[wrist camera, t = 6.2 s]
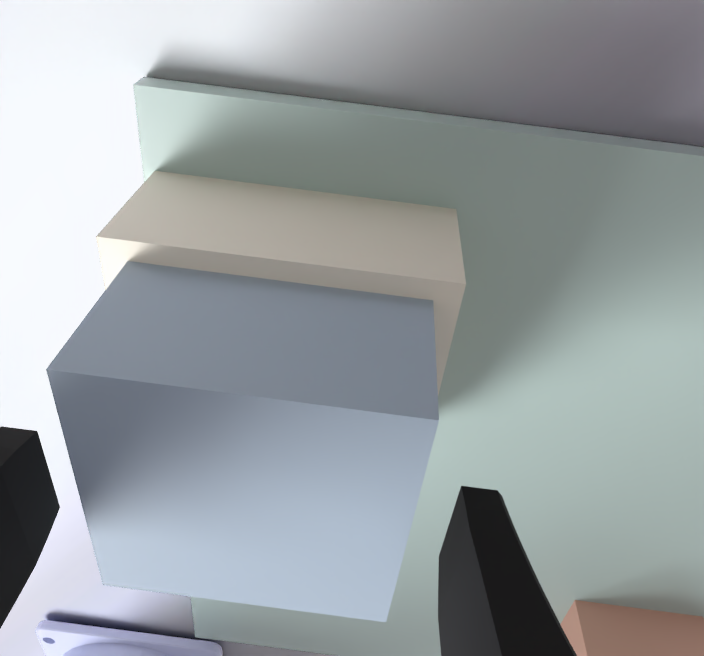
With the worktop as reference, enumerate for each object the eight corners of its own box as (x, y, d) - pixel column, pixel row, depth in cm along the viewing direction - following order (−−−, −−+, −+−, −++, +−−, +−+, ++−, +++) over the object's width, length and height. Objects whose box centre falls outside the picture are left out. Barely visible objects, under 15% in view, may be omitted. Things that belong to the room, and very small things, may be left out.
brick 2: (390, 495, 14) (386, 622, 12) (155, 464, 14) (103, 585, 12) (433, 300, 11) (438, 420, 8) (127, 260, 11) (46, 369, 8)
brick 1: (409, 423, 17) (408, 513, 14) (176, 393, 17) (137, 478, 15) (456, 208, 13) (465, 284, 11) (154, 170, 13) (96, 236, 11)
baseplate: (649, 681, 25) (653, 697, 25) (199, 622, 26) (195, 637, 25) (1071, 193, 12) (1097, 205, 12) (144, 77, 12) (133, 85, 12)
